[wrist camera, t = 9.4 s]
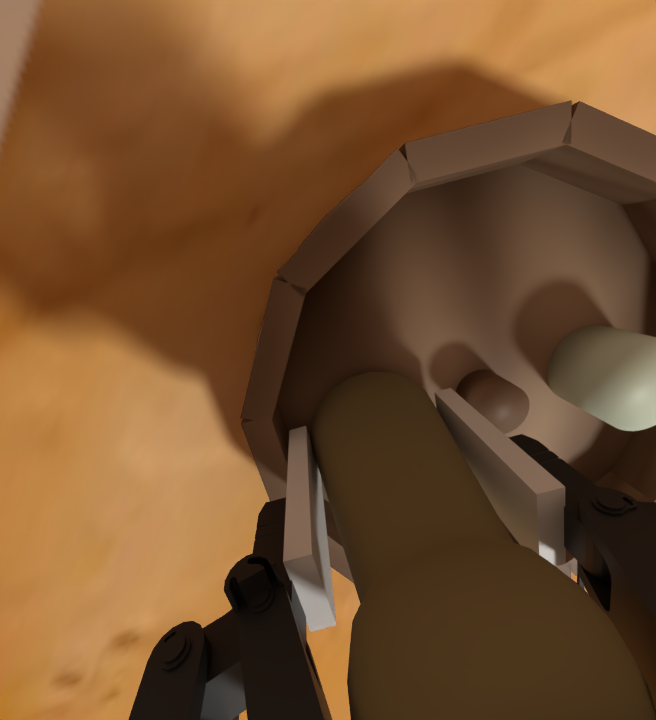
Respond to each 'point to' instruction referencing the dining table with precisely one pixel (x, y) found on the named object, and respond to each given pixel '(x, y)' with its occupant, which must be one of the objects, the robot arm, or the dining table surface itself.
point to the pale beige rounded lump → (607, 375)
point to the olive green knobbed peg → (453, 580)
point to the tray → (471, 288)
